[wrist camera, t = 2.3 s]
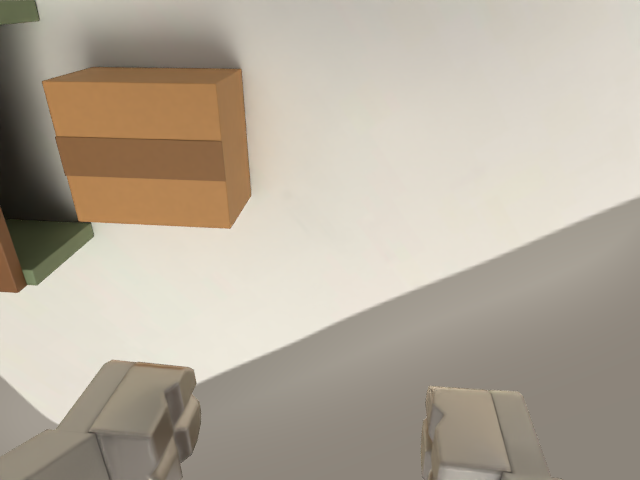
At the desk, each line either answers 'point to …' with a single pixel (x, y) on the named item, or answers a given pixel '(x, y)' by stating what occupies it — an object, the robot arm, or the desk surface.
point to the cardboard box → (153, 144)
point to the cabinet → (32, 235)
